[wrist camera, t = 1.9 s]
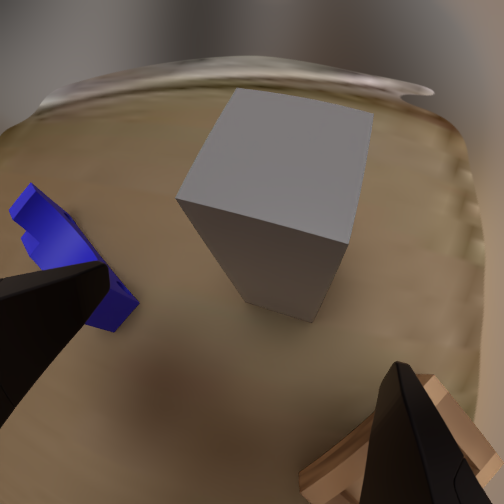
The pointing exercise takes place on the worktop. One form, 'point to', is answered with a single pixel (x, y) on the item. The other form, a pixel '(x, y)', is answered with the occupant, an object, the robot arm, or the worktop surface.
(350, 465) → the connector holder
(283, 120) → the plain gray rectangular block
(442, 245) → the worktop surface
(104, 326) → the cable clip
